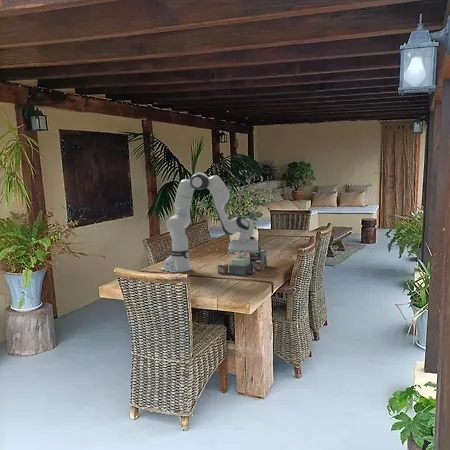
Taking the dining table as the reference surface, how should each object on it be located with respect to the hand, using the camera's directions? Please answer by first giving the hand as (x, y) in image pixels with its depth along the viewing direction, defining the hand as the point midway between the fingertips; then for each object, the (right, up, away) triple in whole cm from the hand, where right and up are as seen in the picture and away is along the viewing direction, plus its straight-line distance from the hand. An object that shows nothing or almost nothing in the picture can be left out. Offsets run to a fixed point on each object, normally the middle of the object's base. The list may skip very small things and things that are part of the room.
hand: (241, 257), depth 291 cm
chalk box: (+13, -8, +17) cm, 23 cm away
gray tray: (0, -10, +1) cm, 11 cm away
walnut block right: (+13, -9, +7) cm, 17 cm away
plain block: (0, -9, +1) cm, 9 cm away
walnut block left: (-12, -11, +2) cm, 16 cm away
